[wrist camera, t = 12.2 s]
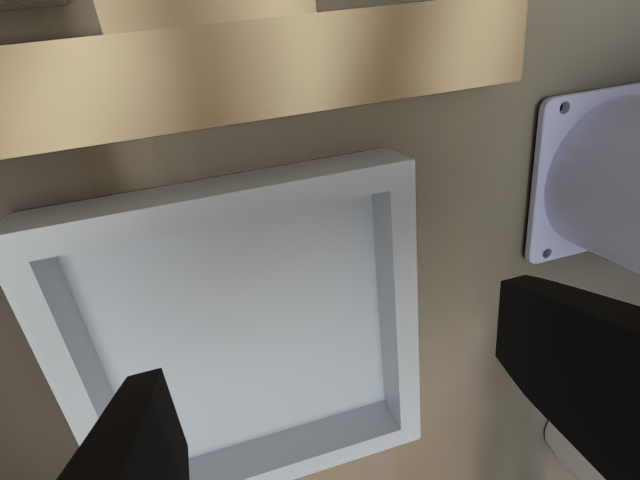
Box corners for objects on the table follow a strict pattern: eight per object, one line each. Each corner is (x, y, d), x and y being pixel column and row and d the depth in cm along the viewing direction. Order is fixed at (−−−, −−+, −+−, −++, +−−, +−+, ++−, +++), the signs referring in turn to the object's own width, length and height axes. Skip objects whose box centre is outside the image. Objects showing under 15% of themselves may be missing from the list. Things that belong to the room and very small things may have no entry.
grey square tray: (387, 147, 17) (415, 159, 15) (398, 402, 23) (420, 438, 21) (12, 212, 15) (-23, 238, 12) (131, 483, 20) (122, 534, 18)
